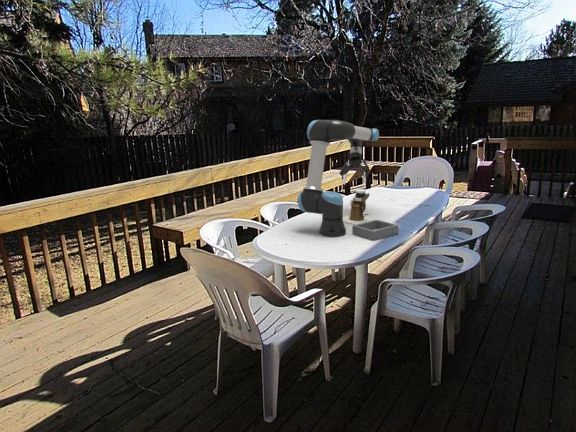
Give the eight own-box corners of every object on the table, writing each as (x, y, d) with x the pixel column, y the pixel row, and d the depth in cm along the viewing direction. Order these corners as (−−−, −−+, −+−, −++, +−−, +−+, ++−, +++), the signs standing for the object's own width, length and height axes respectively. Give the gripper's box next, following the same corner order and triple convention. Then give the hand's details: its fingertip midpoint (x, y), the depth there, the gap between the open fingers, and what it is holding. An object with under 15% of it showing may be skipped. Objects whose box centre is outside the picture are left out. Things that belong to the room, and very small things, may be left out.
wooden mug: (363, 222, 262) (364, 194, 258) (346, 219, 272) (346, 191, 267) (372, 220, 268) (373, 191, 263) (355, 216, 278) (355, 189, 273)
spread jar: (365, 207, 303) (366, 191, 300) (349, 207, 305) (349, 191, 302) (365, 204, 315) (366, 188, 312) (350, 203, 317) (350, 188, 314)
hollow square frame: (373, 240, 229) (373, 231, 228) (352, 234, 242) (352, 225, 240) (398, 233, 240) (398, 225, 239) (376, 227, 253) (377, 219, 252)
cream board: (355, 225, 259) (355, 224, 259) (335, 219, 273) (335, 218, 273) (375, 220, 269) (375, 219, 269) (355, 215, 283) (355, 214, 283)
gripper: (375, 155, 282) (374, 183, 274) (339, 160, 293) (337, 187, 284) (372, 149, 276) (372, 177, 268) (336, 154, 286) (334, 182, 278)
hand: (354, 182), depth 276 cm, fingers open, 13 cm apart
